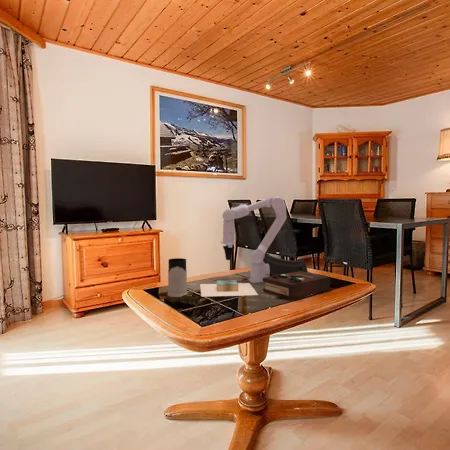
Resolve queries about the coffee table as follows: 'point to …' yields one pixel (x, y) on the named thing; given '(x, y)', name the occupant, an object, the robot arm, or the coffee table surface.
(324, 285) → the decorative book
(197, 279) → the coffee table surface
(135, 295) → the coffee table surface
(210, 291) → the mat
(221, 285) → the tile
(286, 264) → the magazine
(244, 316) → the coffee table surface
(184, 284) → the glass holder
